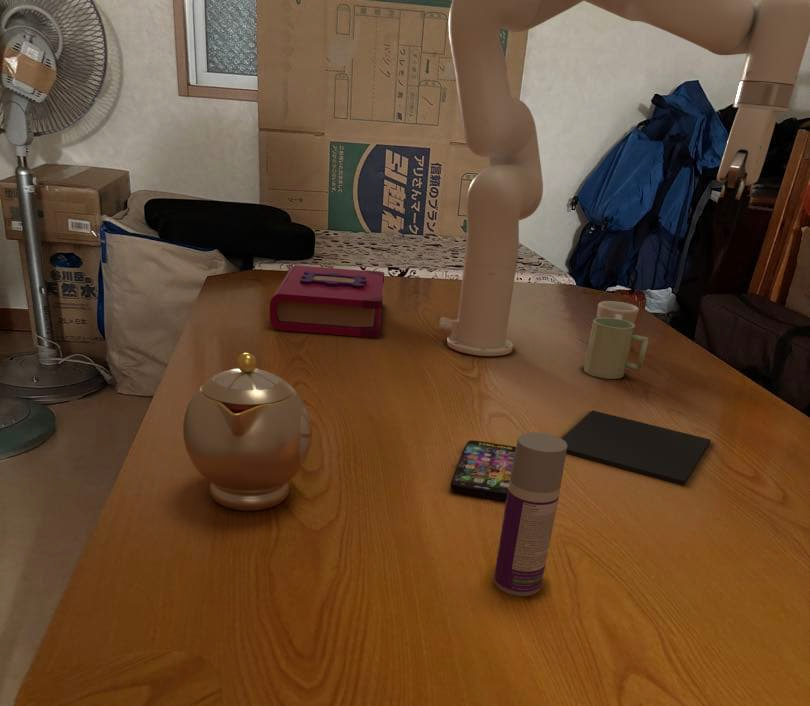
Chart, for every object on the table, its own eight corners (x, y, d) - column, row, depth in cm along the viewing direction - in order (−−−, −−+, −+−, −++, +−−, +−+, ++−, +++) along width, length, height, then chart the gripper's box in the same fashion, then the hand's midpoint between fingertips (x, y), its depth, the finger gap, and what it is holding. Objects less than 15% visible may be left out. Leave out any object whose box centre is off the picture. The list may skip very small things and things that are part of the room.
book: (269, 330, 147) (269, 289, 143) (288, 297, 171) (288, 261, 168) (379, 338, 148) (382, 298, 144) (382, 304, 172) (385, 269, 168)
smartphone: (448, 484, 92) (467, 438, 105) (447, 491, 92) (466, 445, 105) (513, 495, 91) (525, 448, 103) (512, 502, 91) (524, 454, 104)
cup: (631, 357, 151) (641, 316, 147) (590, 351, 152) (599, 310, 148) (629, 343, 160) (638, 303, 156) (590, 338, 161) (598, 299, 157)
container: (489, 569, 78) (511, 430, 70) (534, 570, 78) (561, 432, 71) (498, 596, 74) (522, 451, 66) (545, 597, 74) (575, 453, 67)
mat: (552, 449, 107) (553, 445, 106) (591, 413, 121) (592, 410, 120) (684, 485, 100) (685, 481, 99) (709, 443, 114) (710, 439, 113)
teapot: (303, 531, 82) (306, 381, 73) (173, 523, 81) (160, 371, 73) (317, 461, 97) (321, 331, 89) (208, 454, 96) (201, 322, 88)
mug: (578, 372, 139) (588, 322, 135) (590, 363, 145) (600, 315, 140) (633, 385, 135) (645, 334, 131) (644, 375, 141) (655, 326, 136)
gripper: (744, 98, 120) (713, 217, 128) (725, 93, 106) (691, 225, 115) (796, 103, 117) (760, 223, 125) (783, 98, 103) (744, 233, 112)
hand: (727, 224), depth 120 cm, fingers open, 9 cm apart
